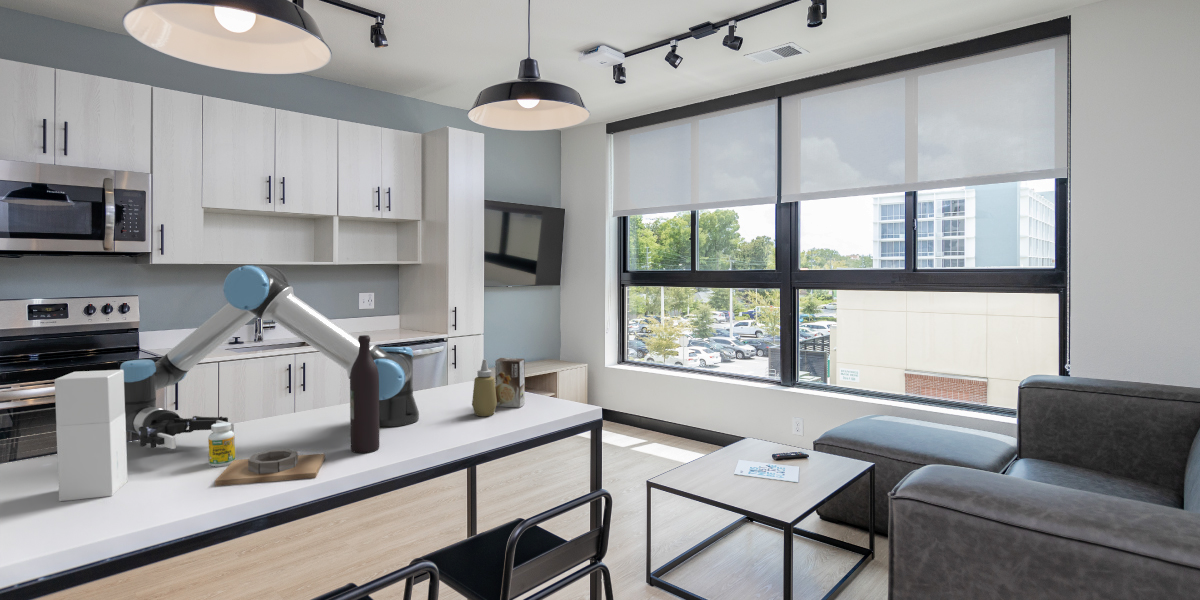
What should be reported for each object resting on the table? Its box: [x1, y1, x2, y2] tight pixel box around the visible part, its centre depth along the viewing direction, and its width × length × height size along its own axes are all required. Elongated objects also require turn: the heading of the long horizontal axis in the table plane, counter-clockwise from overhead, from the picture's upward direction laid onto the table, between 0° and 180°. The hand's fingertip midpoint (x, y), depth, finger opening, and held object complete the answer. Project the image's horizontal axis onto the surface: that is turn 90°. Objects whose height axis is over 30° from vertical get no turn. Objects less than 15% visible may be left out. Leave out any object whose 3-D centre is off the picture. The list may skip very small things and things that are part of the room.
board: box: [214, 448, 326, 487], centre depth 139 cm, size 20×14×4 cm
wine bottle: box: [349, 334, 380, 454], centre depth 155 cm, size 7×7×30 cm
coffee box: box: [494, 357, 526, 408], centre depth 207 cm, size 9×6×16 cm
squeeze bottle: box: [471, 358, 497, 417], centre depth 193 cm, size 8×8×18 cm
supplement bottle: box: [207, 421, 236, 468], centre depth 144 cm, size 5×5×10 cm
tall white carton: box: [54, 369, 128, 502], centre depth 125 cm, size 9×9×25 cm
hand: (204, 435), depth 146 cm, fingers open, 13 cm apart
